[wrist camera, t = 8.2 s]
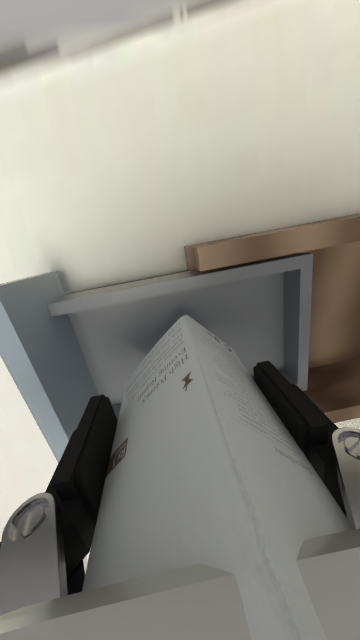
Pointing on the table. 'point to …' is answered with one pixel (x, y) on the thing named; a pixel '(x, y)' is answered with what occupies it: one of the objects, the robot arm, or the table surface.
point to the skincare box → (210, 485)
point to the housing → (313, 300)
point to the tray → (146, 331)
